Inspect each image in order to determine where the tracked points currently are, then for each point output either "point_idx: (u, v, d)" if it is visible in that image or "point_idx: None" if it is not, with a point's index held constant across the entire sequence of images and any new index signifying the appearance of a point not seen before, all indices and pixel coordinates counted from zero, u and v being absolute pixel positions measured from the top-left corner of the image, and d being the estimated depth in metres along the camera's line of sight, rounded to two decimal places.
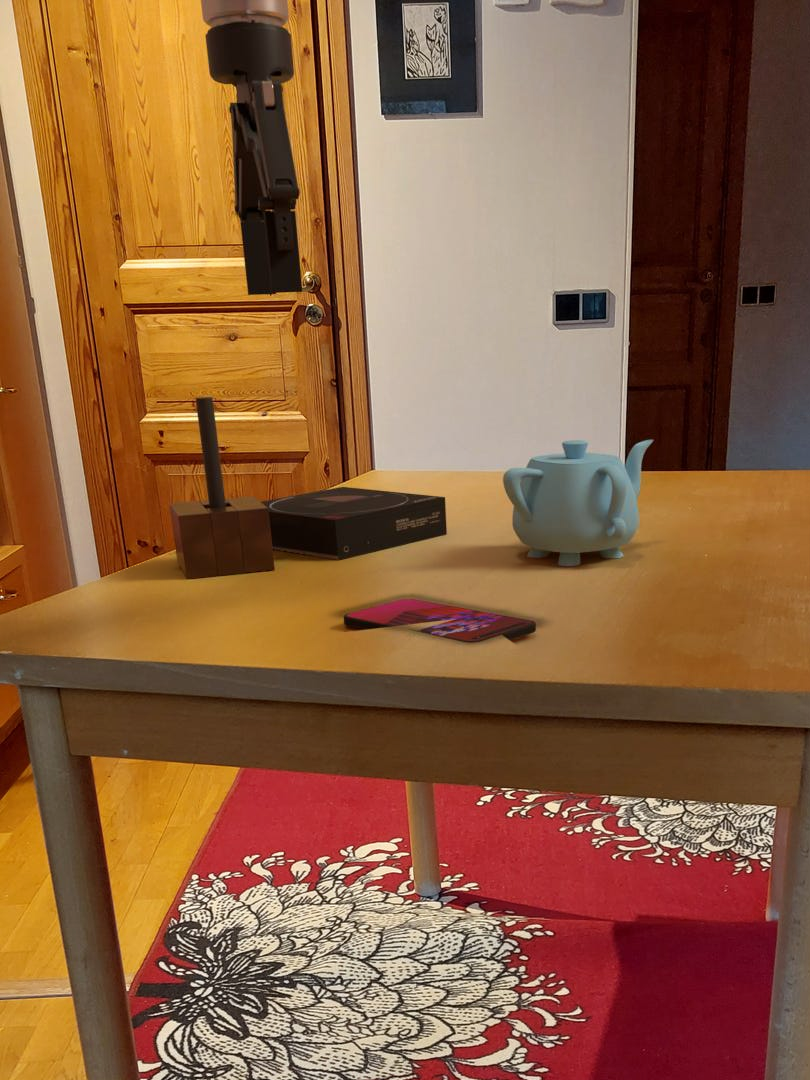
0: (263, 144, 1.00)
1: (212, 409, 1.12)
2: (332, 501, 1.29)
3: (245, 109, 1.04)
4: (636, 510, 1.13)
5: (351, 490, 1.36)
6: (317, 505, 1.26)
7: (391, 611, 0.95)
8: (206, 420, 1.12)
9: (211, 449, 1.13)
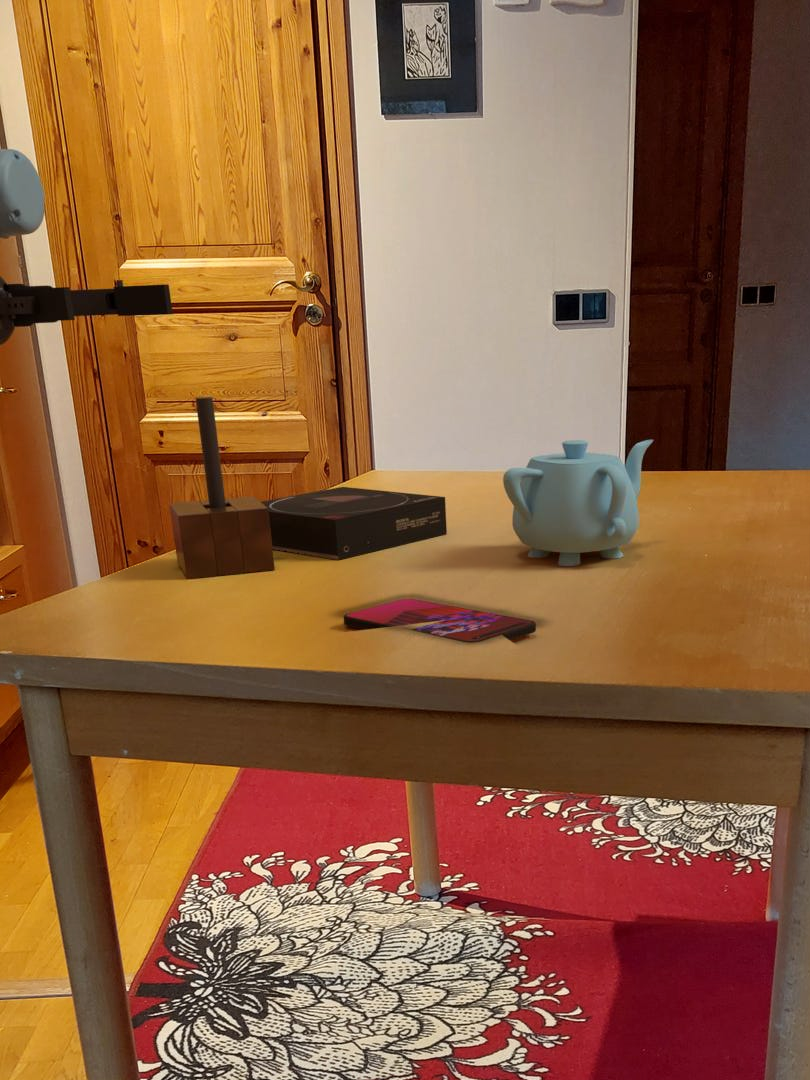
0: None
1: (212, 409, 1.12)
2: (332, 501, 1.29)
3: None
4: (636, 510, 1.13)
5: (351, 490, 1.36)
6: (317, 505, 1.26)
7: (391, 611, 0.95)
8: (206, 420, 1.12)
9: (211, 449, 1.13)
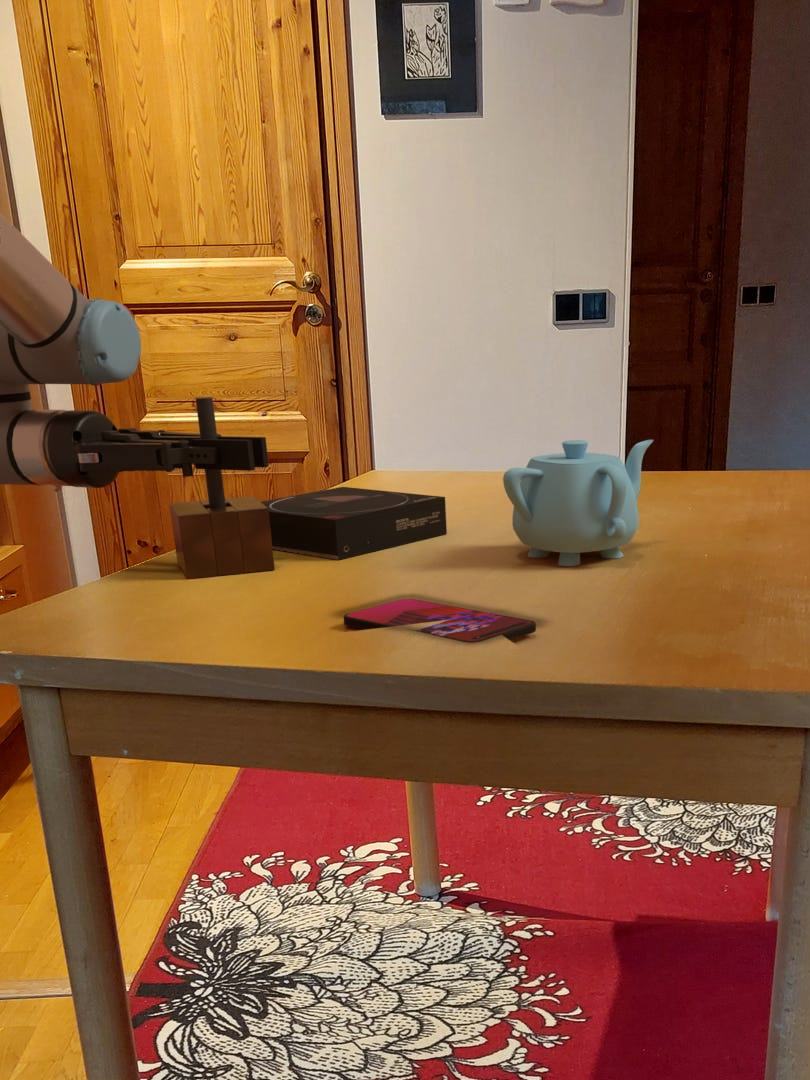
0: (193, 434, 1.20)
1: (212, 409, 1.12)
2: (332, 501, 1.29)
3: None
4: (636, 510, 1.13)
5: (351, 490, 1.36)
6: (317, 505, 1.26)
7: (391, 611, 0.95)
8: (206, 420, 1.12)
9: None
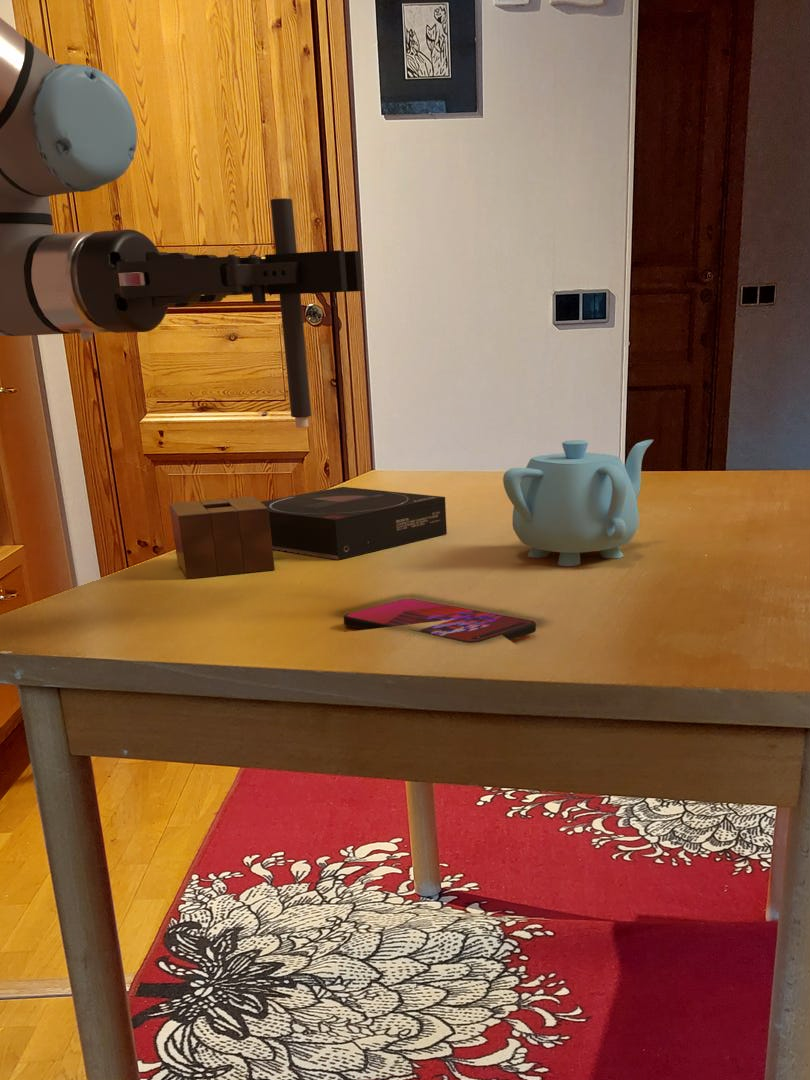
0: None
1: (292, 214, 0.87)
2: (332, 501, 1.29)
3: None
4: (636, 510, 1.13)
5: (351, 490, 1.36)
6: (317, 505, 1.26)
7: (391, 611, 0.95)
8: (284, 228, 0.87)
9: None
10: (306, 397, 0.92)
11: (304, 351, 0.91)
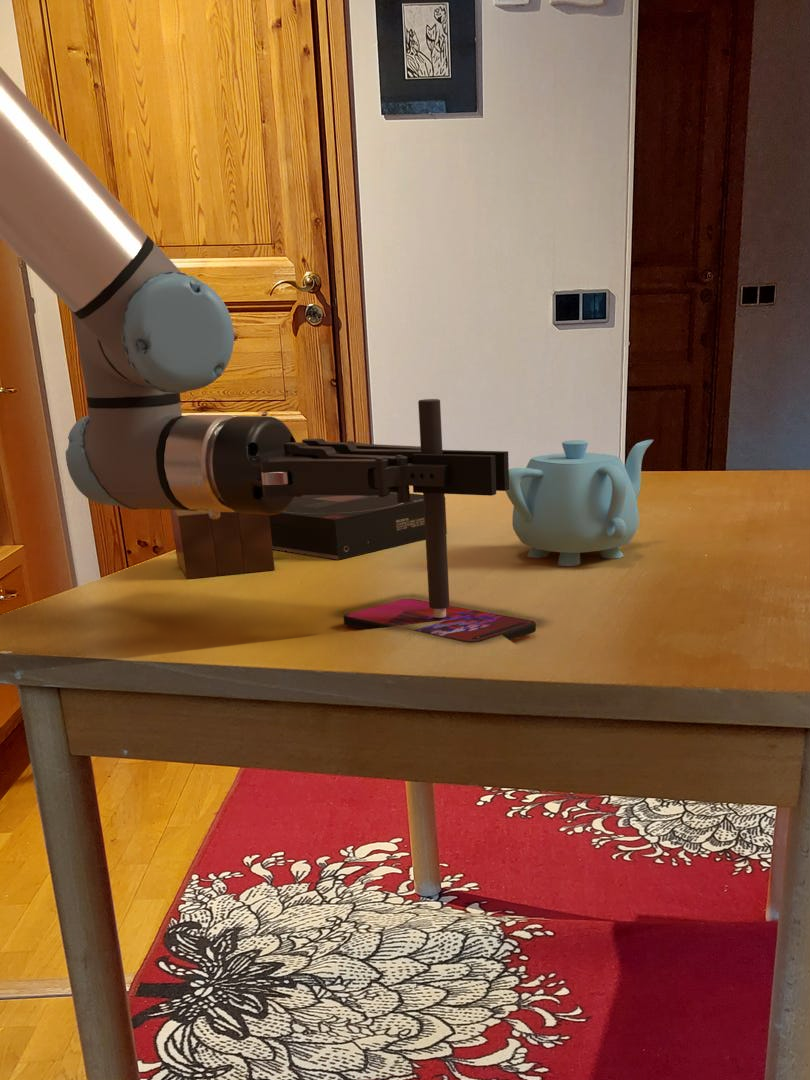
0: (396, 446, 0.93)
1: (439, 415, 0.85)
2: (332, 501, 1.29)
3: None
4: (636, 510, 1.13)
5: None
6: (317, 505, 1.26)
7: (391, 611, 0.95)
8: (431, 429, 0.85)
9: None
10: (446, 589, 0.91)
11: (445, 545, 0.90)
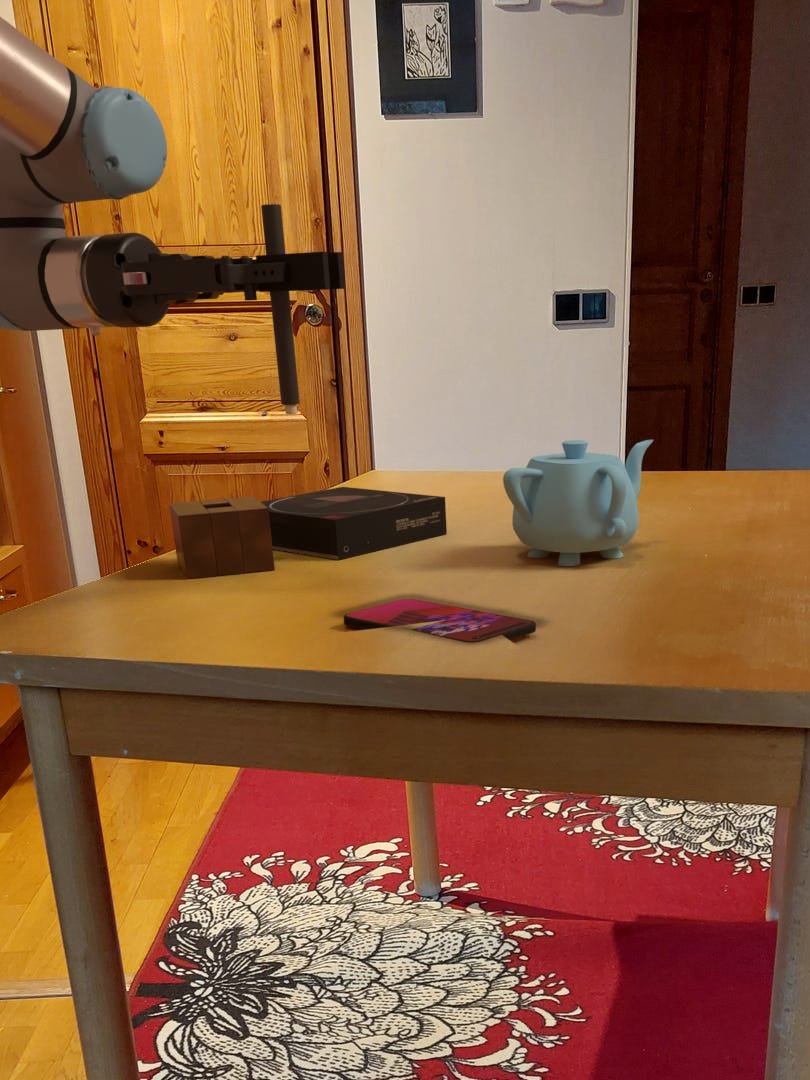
0: None
1: (280, 219, 0.95)
2: (332, 501, 1.29)
3: None
4: (636, 510, 1.13)
5: (351, 490, 1.36)
6: (317, 505, 1.26)
7: (391, 611, 0.95)
8: (273, 231, 0.95)
9: None
10: (295, 386, 1.01)
11: (293, 344, 0.99)
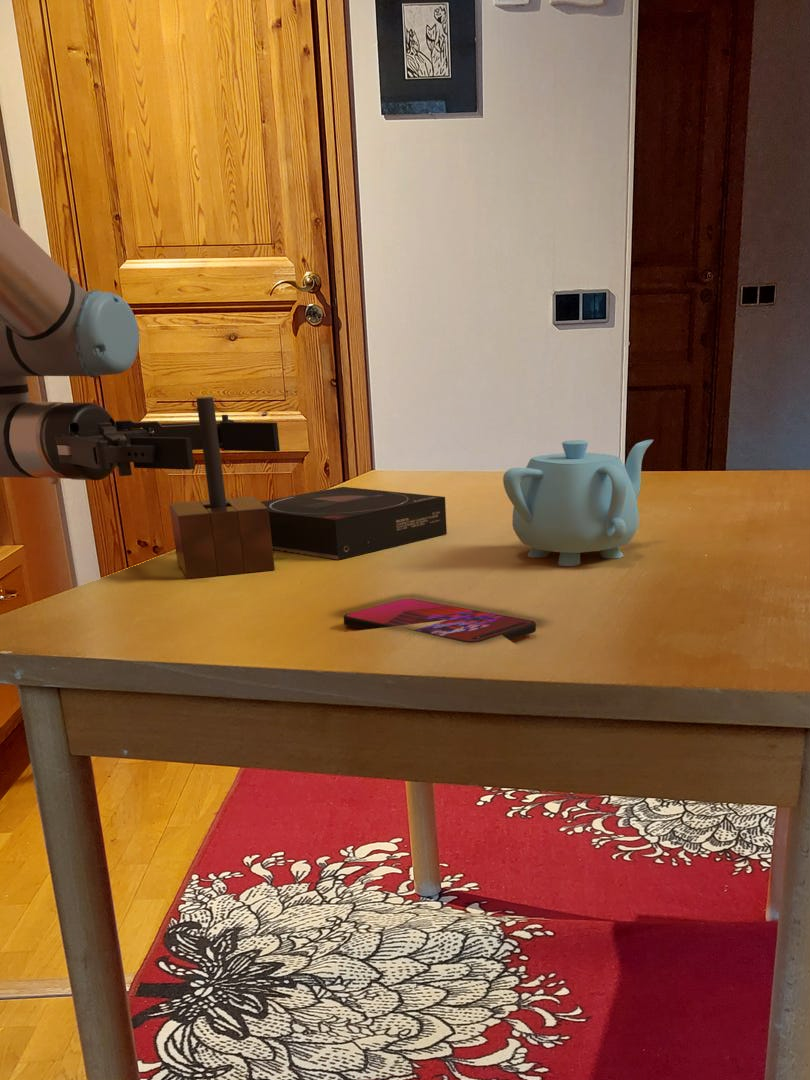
0: None
1: (213, 409, 1.12)
2: (332, 501, 1.29)
3: None
4: (636, 510, 1.13)
5: (351, 490, 1.36)
6: (317, 505, 1.26)
7: (391, 611, 0.95)
8: (206, 420, 1.12)
9: (212, 449, 1.13)
10: None
11: None
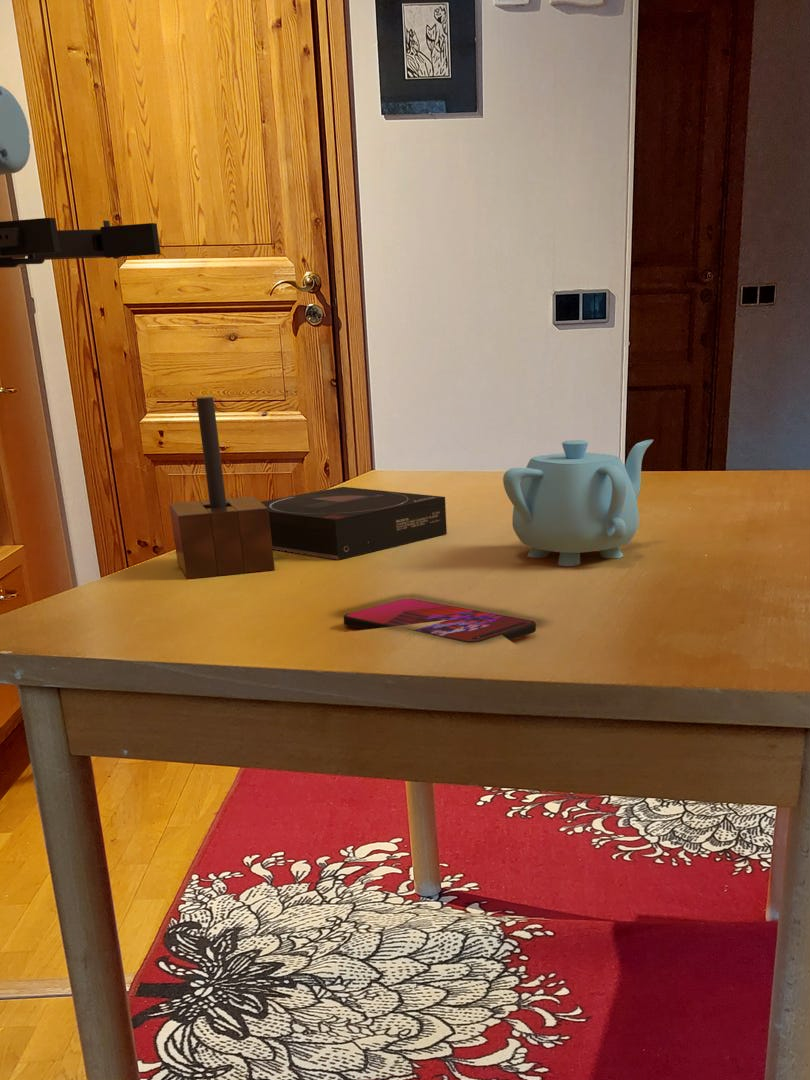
0: None
1: (213, 409, 1.12)
2: (332, 501, 1.29)
3: None
4: (636, 510, 1.13)
5: (351, 490, 1.36)
6: (317, 505, 1.26)
7: (391, 611, 0.95)
8: (206, 420, 1.12)
9: (212, 449, 1.13)
10: None
11: None
